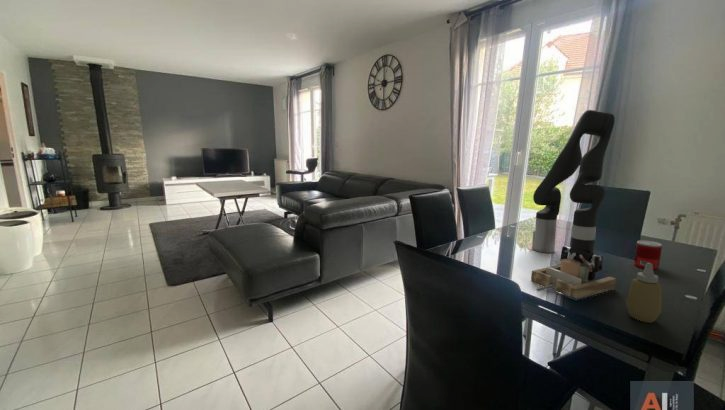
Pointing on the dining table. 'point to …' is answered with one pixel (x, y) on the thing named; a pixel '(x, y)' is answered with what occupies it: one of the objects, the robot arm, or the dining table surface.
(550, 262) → the dining table surface
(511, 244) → the dining table surface
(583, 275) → the sage jar
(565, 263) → the terracotta jar
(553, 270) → the pusher plate
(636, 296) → the squeeze bottle
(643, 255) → the canned food
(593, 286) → the lane
